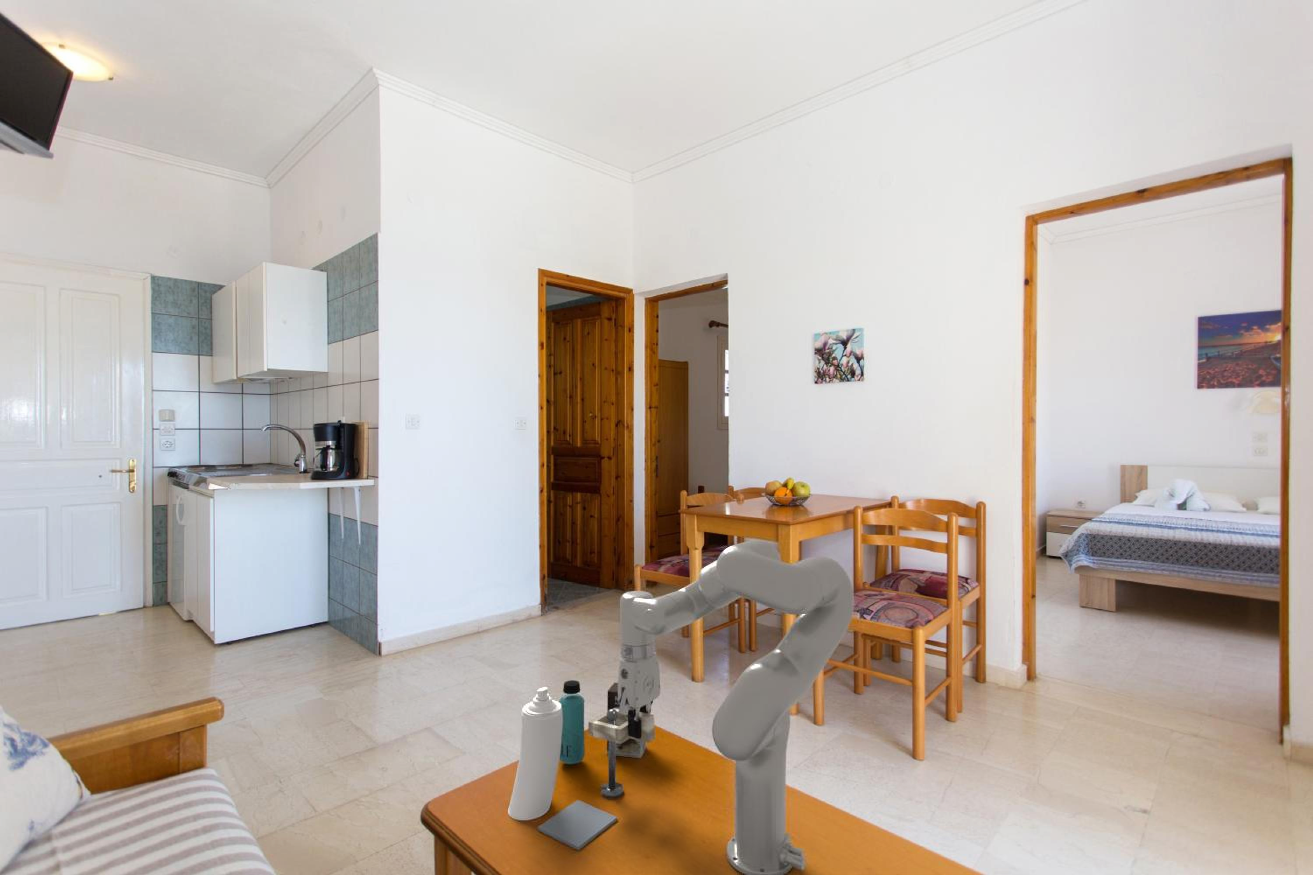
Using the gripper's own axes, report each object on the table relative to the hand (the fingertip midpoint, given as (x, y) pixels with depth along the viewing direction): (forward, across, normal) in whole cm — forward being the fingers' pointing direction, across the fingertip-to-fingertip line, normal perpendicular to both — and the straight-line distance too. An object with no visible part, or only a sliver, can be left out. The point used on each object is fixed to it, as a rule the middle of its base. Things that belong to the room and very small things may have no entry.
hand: (639, 733), depth 139 cm
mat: (+15, -14, +6) cm, 21 cm away
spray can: (+15, -14, +18) cm, 27 cm away
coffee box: (+15, +17, +17) cm, 28 cm away
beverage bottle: (+15, +4, +24) cm, 28 cm away
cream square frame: (+1, 0, +4) cm, 4 cm away
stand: (+15, 0, +8) cm, 17 cm away
